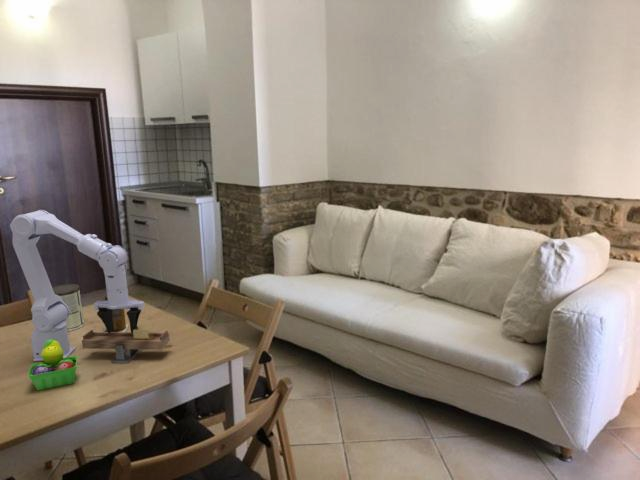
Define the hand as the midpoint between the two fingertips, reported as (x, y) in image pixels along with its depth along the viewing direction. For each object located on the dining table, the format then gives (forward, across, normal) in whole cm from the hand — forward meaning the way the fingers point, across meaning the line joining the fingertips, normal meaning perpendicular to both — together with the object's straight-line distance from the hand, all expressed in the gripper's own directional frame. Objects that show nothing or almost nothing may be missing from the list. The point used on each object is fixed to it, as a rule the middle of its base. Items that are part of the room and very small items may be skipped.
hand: (122, 331), depth 149 cm
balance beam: (+4, +1, 0) cm, 4 cm away
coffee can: (+8, -32, +23) cm, 40 cm away
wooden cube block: (+3, +7, 0) cm, 7 cm away
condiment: (+8, -13, +20) cm, 25 cm away
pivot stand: (+8, +1, 0) cm, 8 cm away
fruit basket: (+8, -12, -16) cm, 22 cm away
